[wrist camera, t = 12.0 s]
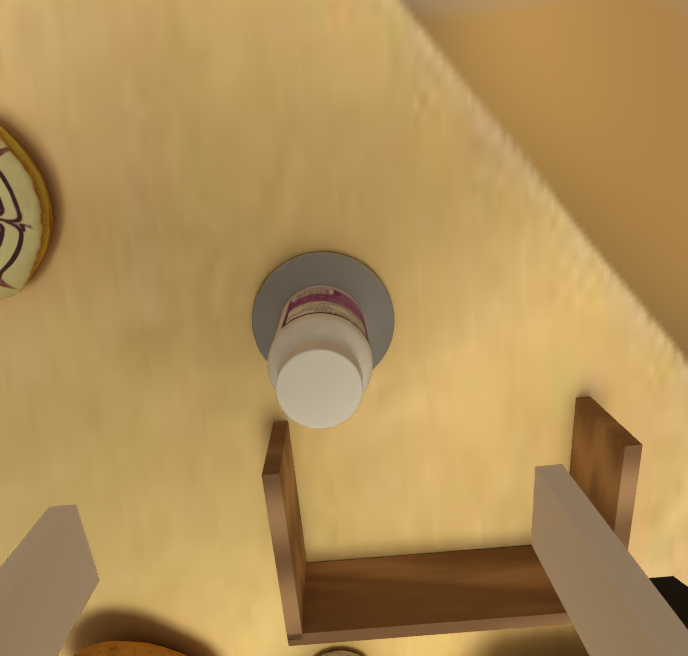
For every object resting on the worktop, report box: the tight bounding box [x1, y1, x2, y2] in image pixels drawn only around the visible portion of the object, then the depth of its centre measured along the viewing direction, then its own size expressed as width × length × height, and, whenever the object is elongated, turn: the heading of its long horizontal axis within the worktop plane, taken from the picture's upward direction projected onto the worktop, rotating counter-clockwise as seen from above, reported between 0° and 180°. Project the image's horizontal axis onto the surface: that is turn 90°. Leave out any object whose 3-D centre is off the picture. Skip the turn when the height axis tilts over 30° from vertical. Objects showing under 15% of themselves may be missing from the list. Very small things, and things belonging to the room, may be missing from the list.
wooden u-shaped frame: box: [262, 397, 642, 646], centre depth 33 cm, size 14×22×6 cm, turn 94°
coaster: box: [252, 251, 394, 369], centre depth 31 cm, size 9×9×1 cm
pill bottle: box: [268, 285, 373, 429], centre depth 27 cm, size 5×5×10 cm
